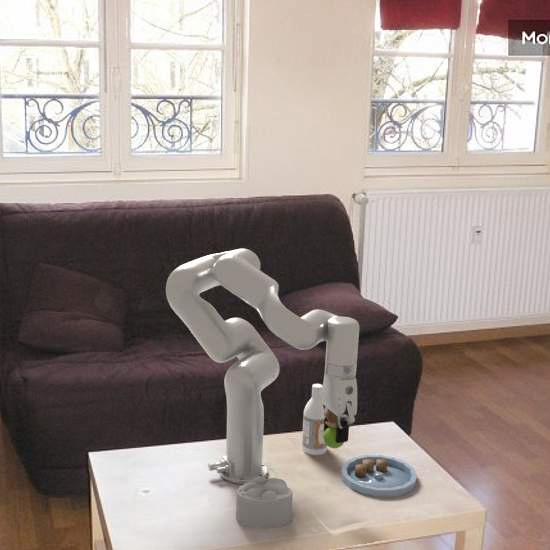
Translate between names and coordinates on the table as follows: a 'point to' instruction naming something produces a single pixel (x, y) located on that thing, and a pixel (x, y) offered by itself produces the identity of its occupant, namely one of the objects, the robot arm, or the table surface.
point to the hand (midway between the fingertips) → (335, 435)
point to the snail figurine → (331, 430)
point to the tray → (380, 477)
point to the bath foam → (314, 424)
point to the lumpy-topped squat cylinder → (264, 503)
